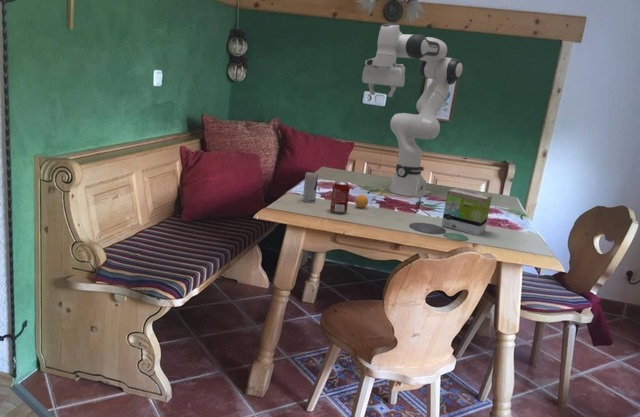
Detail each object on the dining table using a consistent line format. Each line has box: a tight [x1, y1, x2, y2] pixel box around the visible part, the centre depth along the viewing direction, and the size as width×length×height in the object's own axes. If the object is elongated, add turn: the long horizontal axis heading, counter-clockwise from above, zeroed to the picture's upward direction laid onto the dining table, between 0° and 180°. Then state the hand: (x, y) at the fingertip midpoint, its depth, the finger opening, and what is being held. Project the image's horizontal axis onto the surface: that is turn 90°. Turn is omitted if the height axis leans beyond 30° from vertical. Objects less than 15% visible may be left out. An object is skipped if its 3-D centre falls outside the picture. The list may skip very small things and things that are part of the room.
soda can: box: [329, 180, 351, 214], centre depth 208 cm, size 7×7×12 cm
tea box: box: [441, 187, 493, 236], centre depth 203 cm, size 15×10×15 cm, turn 58°
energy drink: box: [302, 172, 319, 203], centre depth 221 cm, size 5×5×12 cm
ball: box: [354, 194, 369, 209], centre depth 220 cm, size 6×6×6 cm
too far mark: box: [443, 232, 469, 242], centre depth 192 cm, size 9×9×1 cm
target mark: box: [408, 222, 447, 235], centre depth 199 cm, size 14×14×1 cm
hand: (380, 95), depth 226 cm, fingers open, 8 cm apart
